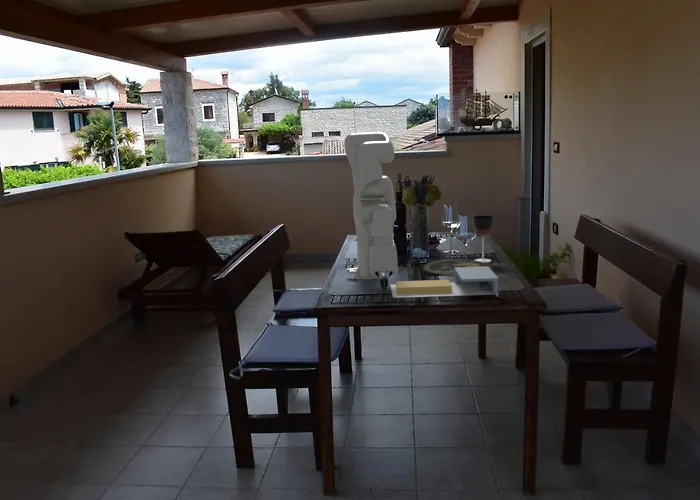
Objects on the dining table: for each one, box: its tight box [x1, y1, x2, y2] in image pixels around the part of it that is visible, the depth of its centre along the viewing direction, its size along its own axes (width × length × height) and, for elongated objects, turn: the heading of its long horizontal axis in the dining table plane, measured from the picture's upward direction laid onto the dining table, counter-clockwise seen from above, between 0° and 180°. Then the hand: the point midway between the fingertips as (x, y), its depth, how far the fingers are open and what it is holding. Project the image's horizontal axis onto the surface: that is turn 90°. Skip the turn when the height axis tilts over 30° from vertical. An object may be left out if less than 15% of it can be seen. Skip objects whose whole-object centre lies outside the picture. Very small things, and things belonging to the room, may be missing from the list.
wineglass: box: [472, 215, 494, 263], centre depth 274 cm, size 8×9×20 cm
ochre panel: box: [395, 279, 452, 294], centre depth 229 cm, size 20×9×2 cm, turn 89°
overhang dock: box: [390, 266, 499, 299], centre depth 228 cm, size 38×18×7 cm, turn 89°
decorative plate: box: [422, 258, 494, 277], centre depth 261 cm, size 30×2×30 cm
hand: (384, 288), depth 229 cm, fingers closed
